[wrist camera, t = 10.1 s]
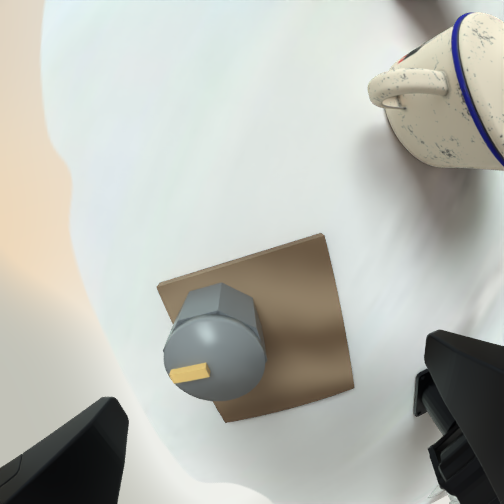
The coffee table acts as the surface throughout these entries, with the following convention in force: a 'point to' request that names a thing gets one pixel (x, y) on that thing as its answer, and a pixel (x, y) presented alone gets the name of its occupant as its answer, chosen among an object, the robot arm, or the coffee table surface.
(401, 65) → the teacup with lid
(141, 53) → the coffee table surface
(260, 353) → the knob
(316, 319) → the base plate
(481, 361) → the robot arm
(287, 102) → the coffee table surface
